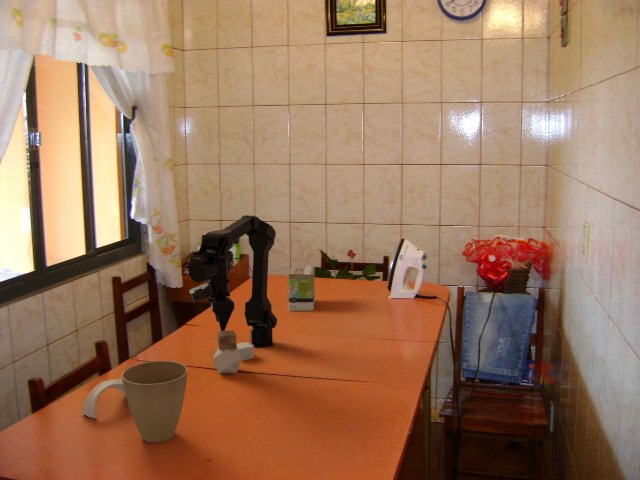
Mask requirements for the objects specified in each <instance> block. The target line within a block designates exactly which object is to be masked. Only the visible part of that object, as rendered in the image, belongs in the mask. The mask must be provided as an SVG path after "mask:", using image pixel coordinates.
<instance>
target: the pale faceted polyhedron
mask: <svg viewBox="0 0 640 480" xmlns="http://www.w3.org/2000/svg"><path fill="white" fill-rule="evenodd" d="M236 347H237V345H236ZM212 361H213V363H214V366H215V368H216V370H217V372H218V374H237V373H238V370H239V368H240V366H241V363H242V361H243V360H242V357H241V354H240V352H239V350H238V347H237V348H236V349H225V350H219V348H218V347H217V348H216V351H215V353H214V355H213V358H212Z"/></svg>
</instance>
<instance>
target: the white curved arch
mask: <svg viewBox="0 0 640 480" xmlns="http://www.w3.org/2000/svg"><path fill="white" fill-rule="evenodd" d="M111 388H114V389H117V390H118V391H120V392H121V393H122V394H124V395H125V396H126V394H125V390H124V386H123V381H122V378H118V379H108V380H105V381H102V382H100V383H98V384H97V385H95V387H93V388H92V390H91V391H90V392H89V393H88V395H87V397H86V398H85V400H84V401H83V402H84V403H83V407H82V415H83V416H84V415H86V416H85V417H87V416H88V418H90V417H91V418H90V419H97V404H98V401H99V398H100V397H101V395H102V394H104V393H105V391H107V390H108V389H111Z"/></svg>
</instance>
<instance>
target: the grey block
mask: <svg viewBox="0 0 640 480" xmlns="http://www.w3.org/2000/svg"><path fill="white" fill-rule="evenodd" d="M236 345H237V347H238V350H239V352H240V354H241V357H242V361H247V360H250V359H254V358H255V353H254V352H255V351H254V350H255V349H254V348H255V347H254V346H253V344H252V343H249V342H248V341H245V342H239V343H236Z"/></svg>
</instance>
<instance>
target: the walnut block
mask: <svg viewBox="0 0 640 480" xmlns="http://www.w3.org/2000/svg"><path fill="white" fill-rule="evenodd" d="M216 344H217V349H218V348H219V350H225V349H236V348H237V347H236V344H237V334H236V332H235V330H234V329H231V330H225V331H221V330H220V331H217V332H216Z"/></svg>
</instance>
